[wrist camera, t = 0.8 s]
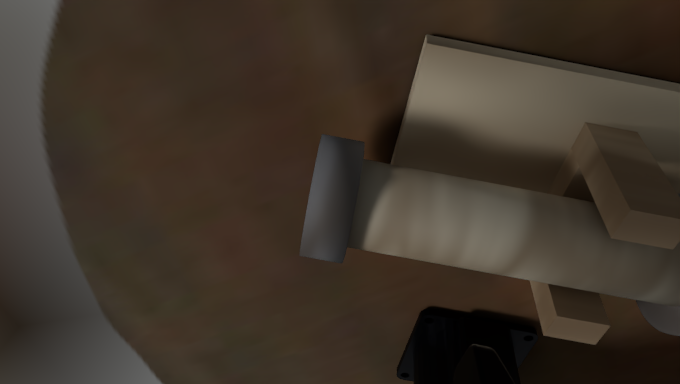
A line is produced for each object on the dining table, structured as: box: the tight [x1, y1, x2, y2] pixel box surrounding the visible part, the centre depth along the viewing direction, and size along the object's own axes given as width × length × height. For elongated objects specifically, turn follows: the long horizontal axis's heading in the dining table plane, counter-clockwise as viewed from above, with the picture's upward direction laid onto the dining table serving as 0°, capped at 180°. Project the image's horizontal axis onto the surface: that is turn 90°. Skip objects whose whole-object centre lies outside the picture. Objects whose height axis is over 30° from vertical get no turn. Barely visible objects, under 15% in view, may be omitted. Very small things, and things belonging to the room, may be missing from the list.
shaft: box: [300, 134, 680, 336], centre depth 19 cm, size 5×15×5 cm, turn 81°
